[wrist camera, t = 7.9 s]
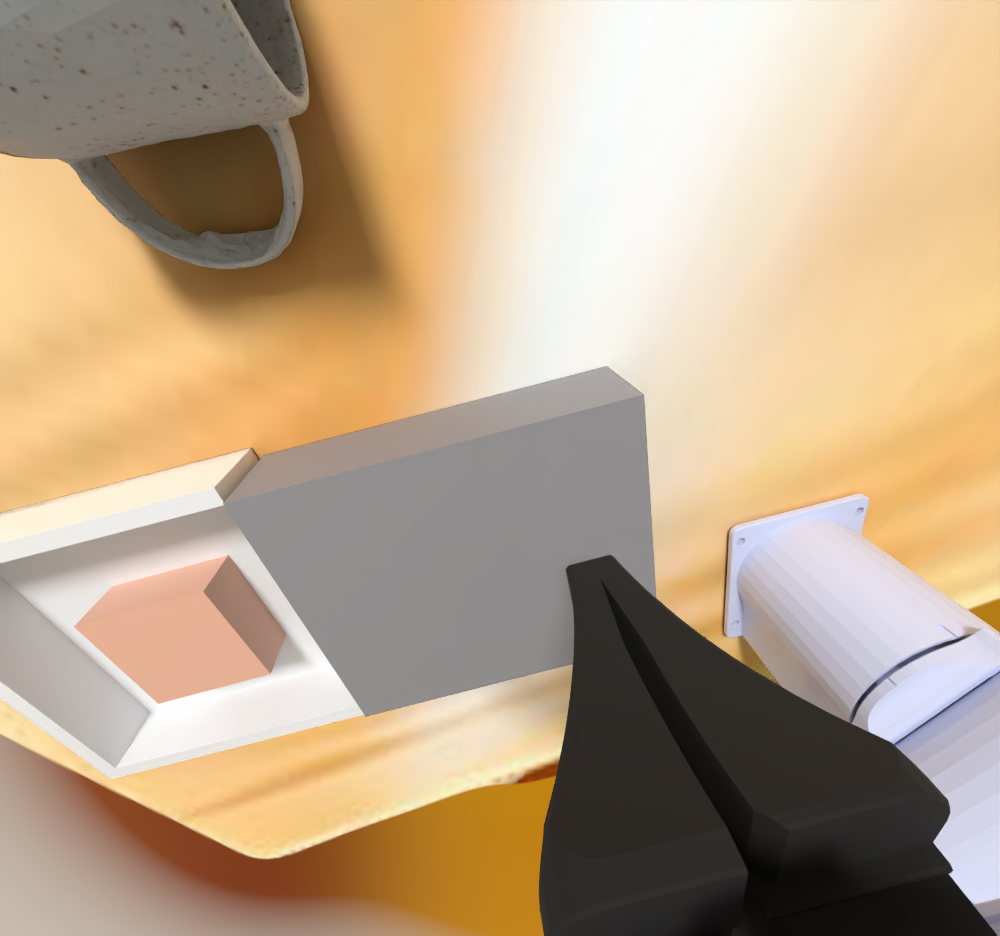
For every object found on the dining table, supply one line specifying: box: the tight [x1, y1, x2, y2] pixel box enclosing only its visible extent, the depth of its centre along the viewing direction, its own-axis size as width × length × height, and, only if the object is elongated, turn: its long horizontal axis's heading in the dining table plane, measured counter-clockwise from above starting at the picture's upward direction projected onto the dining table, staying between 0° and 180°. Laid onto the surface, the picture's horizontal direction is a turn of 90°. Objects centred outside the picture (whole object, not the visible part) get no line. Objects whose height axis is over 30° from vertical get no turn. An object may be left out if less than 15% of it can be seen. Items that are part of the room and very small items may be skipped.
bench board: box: [223, 366, 656, 717], centre depth 21 cm, size 14×16×4 cm
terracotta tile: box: [74, 555, 286, 704], centre depth 21 cm, size 6×6×2 cm
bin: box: [0, 448, 364, 779], centre depth 21 cm, size 15×14×4 cm
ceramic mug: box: [0, 0, 309, 269], centre depth 10 cm, size 11×8×8 cm
